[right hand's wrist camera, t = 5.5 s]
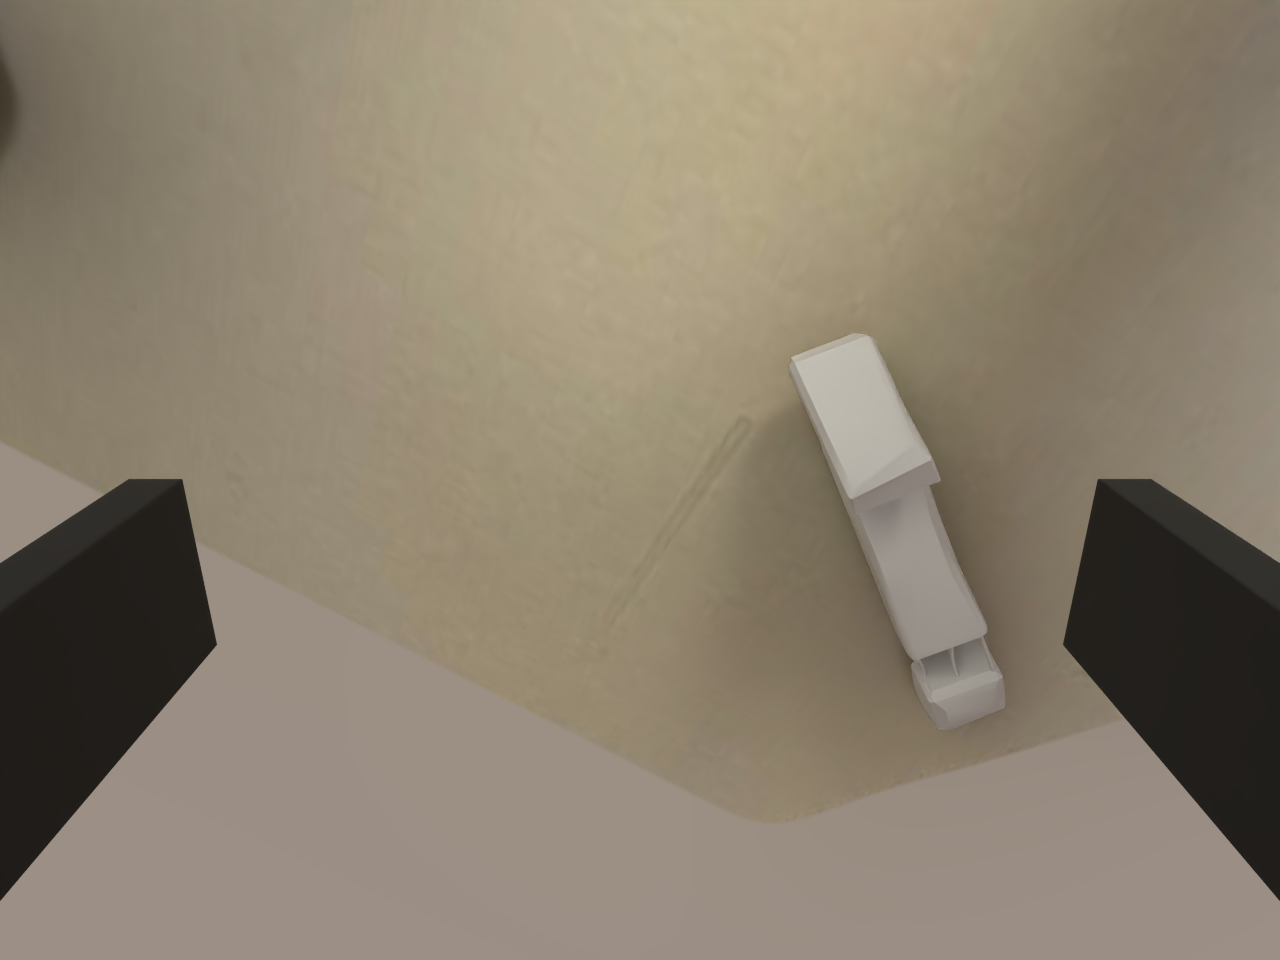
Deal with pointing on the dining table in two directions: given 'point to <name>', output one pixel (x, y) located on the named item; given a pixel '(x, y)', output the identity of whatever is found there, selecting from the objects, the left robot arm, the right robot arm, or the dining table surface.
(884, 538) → the clamp
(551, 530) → the dining table surface
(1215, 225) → the dining table surface
